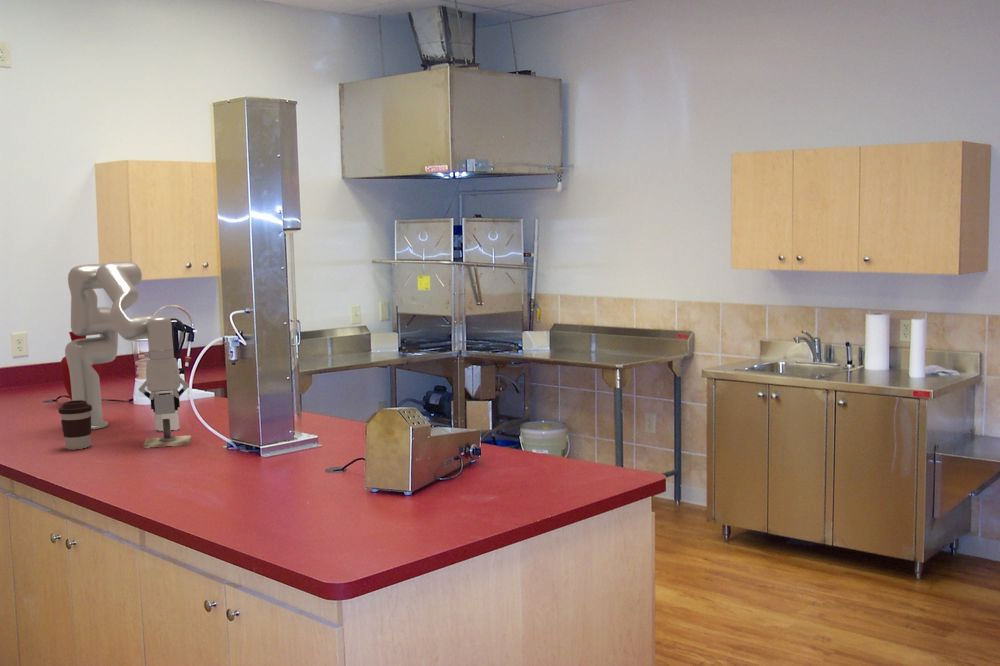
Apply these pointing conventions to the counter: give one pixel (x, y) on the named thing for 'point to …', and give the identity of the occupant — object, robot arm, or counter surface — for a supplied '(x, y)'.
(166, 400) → the gray rounded cube
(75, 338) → the vase
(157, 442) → the shaft stand
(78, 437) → the coffee cup
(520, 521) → the counter surface
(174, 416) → the milk
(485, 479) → the counter surface
